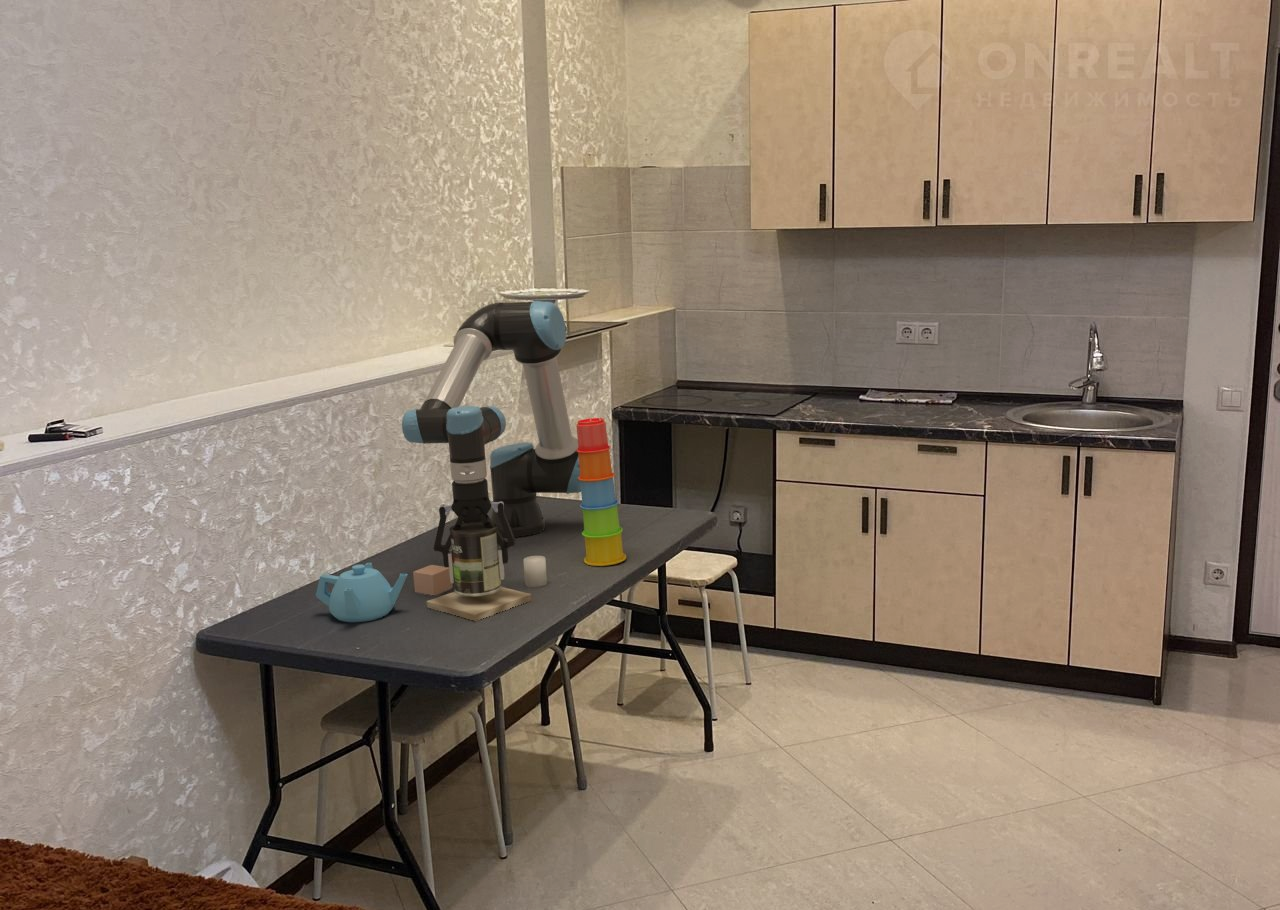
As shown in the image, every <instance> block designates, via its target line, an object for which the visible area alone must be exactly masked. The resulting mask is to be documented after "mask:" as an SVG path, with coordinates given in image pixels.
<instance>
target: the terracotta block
mask: <svg viewBox="0 0 1280 910" xmlns="http://www.w3.org/2000/svg"><path fill="white" fill-rule="evenodd" d="M412 574H413V575H412V576H413V577H412V578H413V587H414V593H415V592H420V593H419V594H421V593H424V594H423V595H426V594H430V595H429V596H432V595H436V594H438V595H440V594H439V593H441V592H443V591H445V592H447V591H446V590H448V589H450V588H452V589H453V586H454V585H453V583H450V572H449V567H444V565H442V566H441V565H437V564H430V565H427V566H425V567H422V568H419V569H417V570H415V571H413V572H412ZM450 590H451V589H450ZM448 591H449V590H448ZM443 593H444V592H443ZM441 594H442V593H441ZM436 596H437V595H436Z"/></svg>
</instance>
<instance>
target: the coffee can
mask: <svg viewBox="0 0 1280 910" xmlns="http://www.w3.org/2000/svg"><path fill="white" fill-rule="evenodd" d="M493 524H494V526H493V528H487V527H486V526H485V525H484V524H483V523H482V521H480V522H477V523H476V522H470V523H465V522H463V523H462V525H461V527H460V529H459V530H453V527H454V525H455V524H453V525H452V526H451V527H449V535H450V534H451V547H450V549H451V550H452V560H453V572H454V583H453V584H454V592H455V593H456V594H458V595H461V596H470V597H476V596H485V595H489V594H493V593H495V592H497V591H499V590H500V589H501V588H502V587H503V586H502V581H501V580H500V570H499V557H498V549H499V544H498V543H497V536H496V532H497V529H498V525H497V524H496V523H494V522H493Z"/></svg>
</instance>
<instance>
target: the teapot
mask: <svg viewBox="0 0 1280 910" xmlns="http://www.w3.org/2000/svg"><path fill="white" fill-rule="evenodd" d="M407 577H408V573H399V576H398V577H397V580H396V581H395V583H394V585H393V587H392V586H391V584H390V583H389V582H388V580H387V579H386V578H385V576H384V575H383V573H381V572H380V571H379V570H378V569H375V568H374V567H373V563H372V562H366V563H365V564H354V565H352V566H351V569H350V570H347V571H344V572H341V574H340V575H339V576H338V575H334V574H333V575H332V574H326V573H323V574H321V575H320V576H319V580H318V584H317V589H316V593H315V597H316V598H317V599H319V601H320V602H322V603H323V604H325V605H326V607H328V610H329V613H330V614H331V615H332V616H333V617H334V618H336V619H337V620H338V621H340V622H345V623H363V622H370V621H374V620H377V619H381V618H383V616H384V617H386V616H387V615H388V614H389V613H390V612H391V611H392V610H393V608H394V606H395V604H396V602H397V600H398V599H399V598H398V597H399V595H400V594H401V591H402V588H403V586H404V584H405V582H406V579H407ZM329 583H330V584H332V585H334V586H333V587H332V590H331V593H330V592H329V591H328V584H329Z"/></svg>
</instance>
